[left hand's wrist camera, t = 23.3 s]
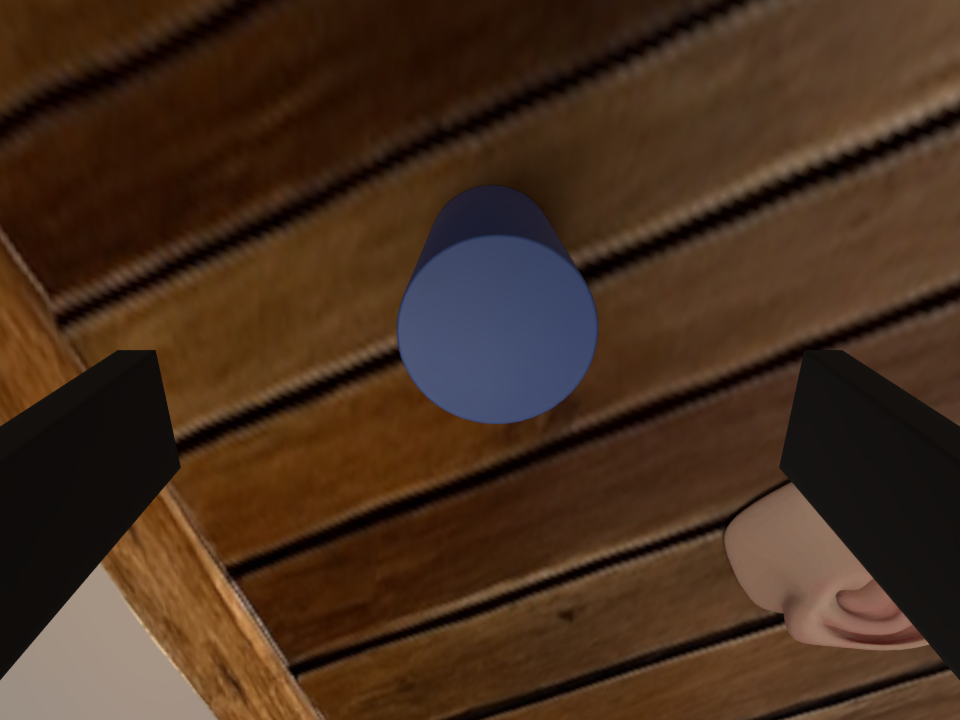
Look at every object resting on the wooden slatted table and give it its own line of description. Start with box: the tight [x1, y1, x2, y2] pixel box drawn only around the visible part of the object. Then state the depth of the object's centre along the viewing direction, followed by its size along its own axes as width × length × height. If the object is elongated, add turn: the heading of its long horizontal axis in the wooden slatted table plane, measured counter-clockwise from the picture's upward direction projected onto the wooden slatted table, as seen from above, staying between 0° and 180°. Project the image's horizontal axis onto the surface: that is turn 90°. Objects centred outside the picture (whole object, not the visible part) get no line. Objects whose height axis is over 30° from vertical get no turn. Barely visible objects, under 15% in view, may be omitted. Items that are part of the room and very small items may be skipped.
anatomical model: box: [724, 482, 929, 650], centre depth 34 cm, size 13×4×12 cm
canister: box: [397, 185, 598, 424], centre depth 23 cm, size 6×6×12 cm
